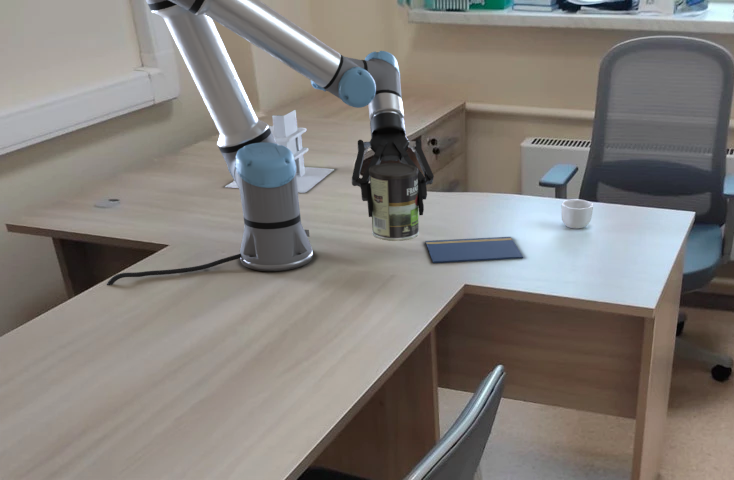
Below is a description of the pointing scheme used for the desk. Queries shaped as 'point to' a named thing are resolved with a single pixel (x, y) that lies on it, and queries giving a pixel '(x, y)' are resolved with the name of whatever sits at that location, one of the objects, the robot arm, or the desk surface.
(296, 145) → the architectural model
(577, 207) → the teacup
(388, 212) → the coffee can
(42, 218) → the desk surface
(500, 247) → the blue flat rectangular block
